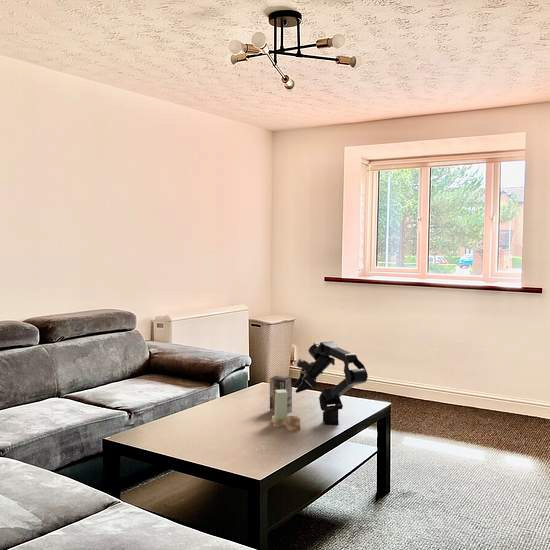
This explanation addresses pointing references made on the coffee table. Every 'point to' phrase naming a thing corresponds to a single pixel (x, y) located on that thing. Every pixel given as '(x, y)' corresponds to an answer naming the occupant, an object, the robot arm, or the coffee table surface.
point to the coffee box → (280, 384)
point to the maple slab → (278, 421)
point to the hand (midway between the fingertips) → (295, 389)
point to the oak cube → (293, 422)
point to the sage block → (280, 404)
